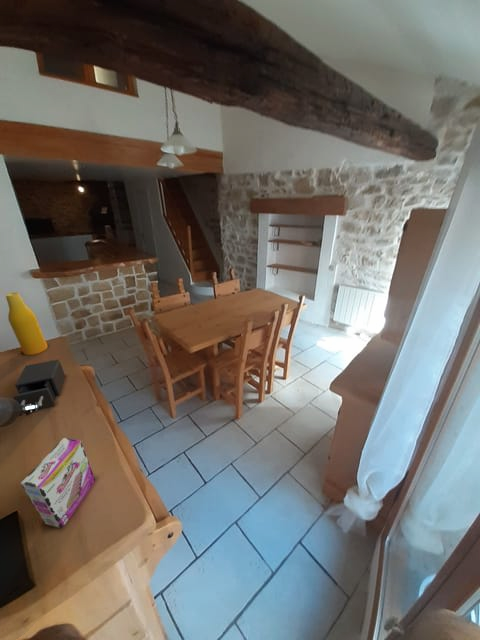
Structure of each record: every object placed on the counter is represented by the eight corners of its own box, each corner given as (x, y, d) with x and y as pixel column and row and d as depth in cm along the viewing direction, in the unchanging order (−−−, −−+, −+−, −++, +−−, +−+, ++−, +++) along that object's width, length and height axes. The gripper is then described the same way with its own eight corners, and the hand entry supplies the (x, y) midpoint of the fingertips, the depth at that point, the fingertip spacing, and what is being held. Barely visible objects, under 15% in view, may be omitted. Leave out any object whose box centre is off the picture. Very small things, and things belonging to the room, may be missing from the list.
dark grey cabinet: (60, 397, 93) (52, 377, 88) (25, 406, 89) (14, 385, 85) (66, 378, 102) (58, 359, 98) (34, 385, 98) (25, 365, 94)
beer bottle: (36, 358, 114) (10, 299, 101) (19, 355, 116) (-9, 297, 102) (53, 347, 122) (31, 291, 109) (36, 345, 124) (13, 289, 110)
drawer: (52, 415, 84) (44, 398, 81) (17, 424, 81) (7, 406, 78) (60, 387, 96) (54, 371, 93) (31, 393, 93) (23, 377, 90)
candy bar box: (64, 531, 57) (39, 489, 49) (45, 526, 57) (17, 484, 50) (98, 481, 66) (81, 439, 59) (81, 477, 67) (62, 436, 60)
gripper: (25, 390, 66) (51, 394, 82) (-41, 404, 62) (0, 405, 77) (26, 420, 64) (52, 418, 80) (-42, 436, 60) (0, 431, 75)
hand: (26, 412), depth 79 cm, fingers closed
